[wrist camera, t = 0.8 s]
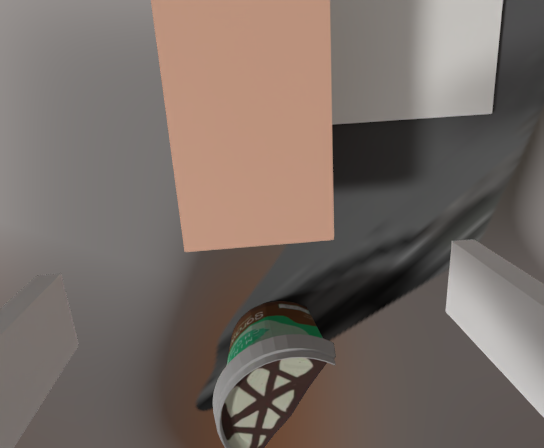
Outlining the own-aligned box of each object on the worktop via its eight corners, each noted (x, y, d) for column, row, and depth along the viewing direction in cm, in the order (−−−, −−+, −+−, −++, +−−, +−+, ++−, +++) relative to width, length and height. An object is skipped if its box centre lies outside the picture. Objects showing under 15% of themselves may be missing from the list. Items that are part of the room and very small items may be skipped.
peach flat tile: (154, -46, 24) (142, -65, 21) (318, -53, 25) (328, -73, 22) (190, 237, 29) (184, 252, 27) (325, 226, 30) (334, 239, 27)
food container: (260, 265, 37) (266, 321, 27) (315, 295, 38) (340, 359, 29) (195, 365, 40) (180, 449, 30) (248, 390, 41) (251, 478, 31)
